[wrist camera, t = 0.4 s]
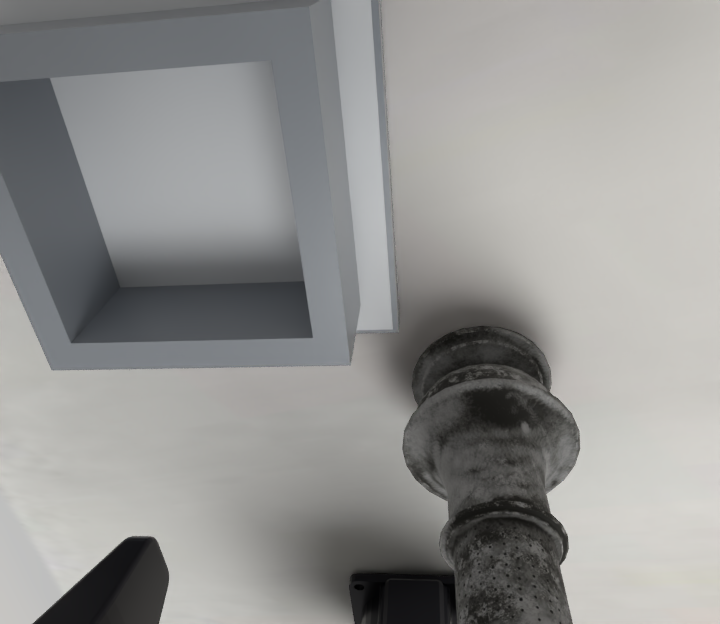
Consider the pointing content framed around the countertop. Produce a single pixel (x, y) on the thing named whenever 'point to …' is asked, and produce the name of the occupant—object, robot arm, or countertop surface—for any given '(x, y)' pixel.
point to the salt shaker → (494, 472)
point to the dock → (196, 180)
